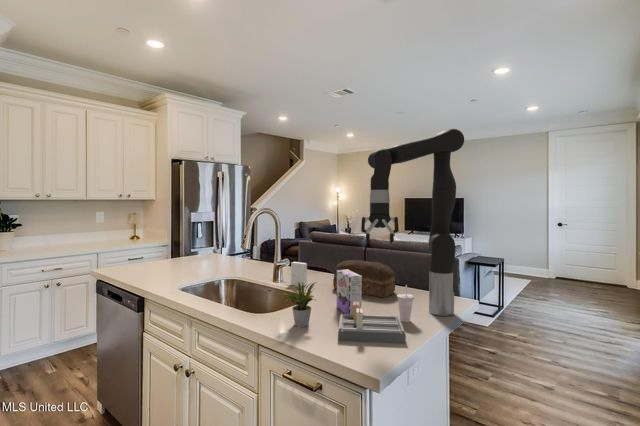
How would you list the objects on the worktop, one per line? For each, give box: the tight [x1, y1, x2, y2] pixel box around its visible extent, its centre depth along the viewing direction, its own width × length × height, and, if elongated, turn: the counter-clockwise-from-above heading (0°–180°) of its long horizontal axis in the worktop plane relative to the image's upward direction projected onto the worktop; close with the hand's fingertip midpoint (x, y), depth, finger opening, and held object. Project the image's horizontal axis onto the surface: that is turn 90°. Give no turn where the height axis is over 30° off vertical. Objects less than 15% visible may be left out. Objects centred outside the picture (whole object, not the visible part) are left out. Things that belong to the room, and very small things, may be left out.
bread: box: [332, 259, 396, 298], centre depth 180 cm, size 15×32×16 cm, turn 55°
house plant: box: [280, 281, 318, 328], centre depth 132 cm, size 14×14×16 cm
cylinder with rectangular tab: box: [290, 261, 308, 287], centre depth 193 cm, size 9×9×12 cm
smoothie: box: [396, 284, 415, 323], centre depth 135 cm, size 6×6×14 cm
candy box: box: [336, 269, 363, 314], centre depth 146 cm, size 14×6×16 cm, turn 19°
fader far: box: [353, 301, 359, 320], centre depth 127 cm, size 2×4×6 cm, turn 175°
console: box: [337, 313, 407, 344], centre depth 123 cm, size 22×16×4 cm
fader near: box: [356, 308, 364, 329], centre depth 119 cm, size 2×4×6 cm, turn 175°
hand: (379, 243), depth 136 cm, fingers open, 8 cm apart
